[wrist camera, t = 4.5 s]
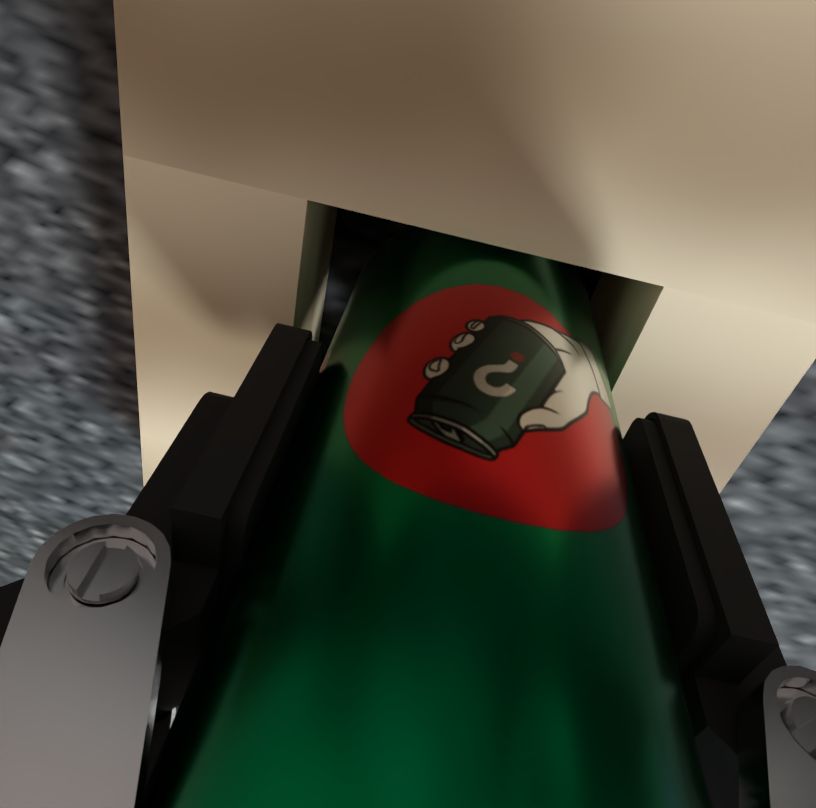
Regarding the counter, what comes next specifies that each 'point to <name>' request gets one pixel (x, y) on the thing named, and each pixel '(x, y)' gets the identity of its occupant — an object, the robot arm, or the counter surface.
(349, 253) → the counter surface
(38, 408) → the counter surface
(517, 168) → the header board
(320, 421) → the soda can
